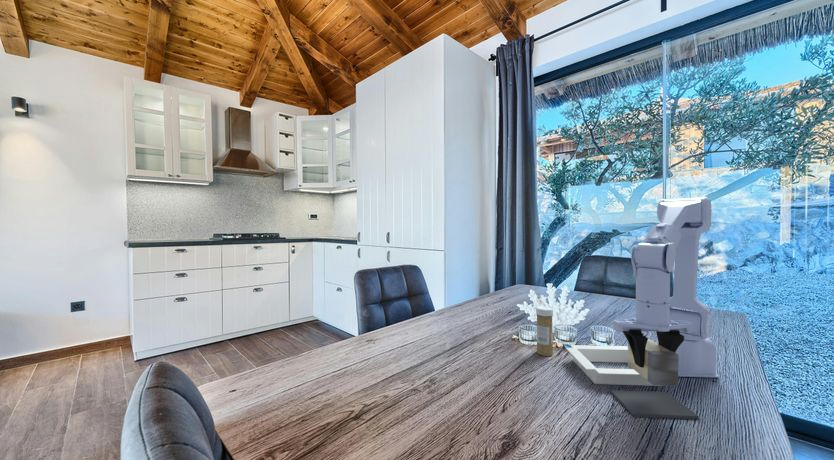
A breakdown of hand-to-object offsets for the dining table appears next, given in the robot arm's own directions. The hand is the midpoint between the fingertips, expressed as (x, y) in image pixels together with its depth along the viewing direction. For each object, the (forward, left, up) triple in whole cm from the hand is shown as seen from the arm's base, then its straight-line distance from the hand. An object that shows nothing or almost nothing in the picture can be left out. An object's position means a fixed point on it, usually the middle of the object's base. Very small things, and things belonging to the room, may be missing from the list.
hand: (651, 365), depth 68 cm
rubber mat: (0, 0, -8) cm, 8 cm away
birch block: (0, 0, -2) cm, 2 cm away
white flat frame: (0, -15, -8) cm, 17 cm away
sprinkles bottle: (+14, -26, -9) cm, 31 cm away
